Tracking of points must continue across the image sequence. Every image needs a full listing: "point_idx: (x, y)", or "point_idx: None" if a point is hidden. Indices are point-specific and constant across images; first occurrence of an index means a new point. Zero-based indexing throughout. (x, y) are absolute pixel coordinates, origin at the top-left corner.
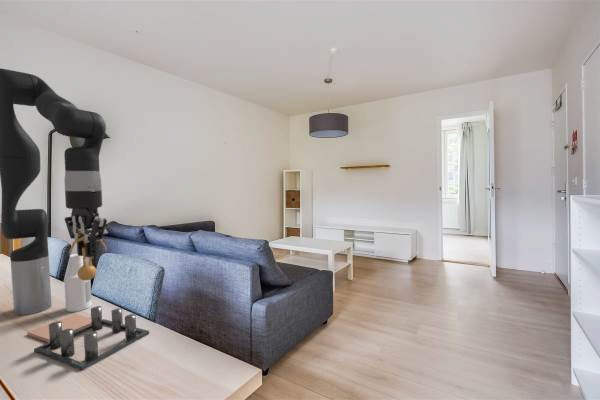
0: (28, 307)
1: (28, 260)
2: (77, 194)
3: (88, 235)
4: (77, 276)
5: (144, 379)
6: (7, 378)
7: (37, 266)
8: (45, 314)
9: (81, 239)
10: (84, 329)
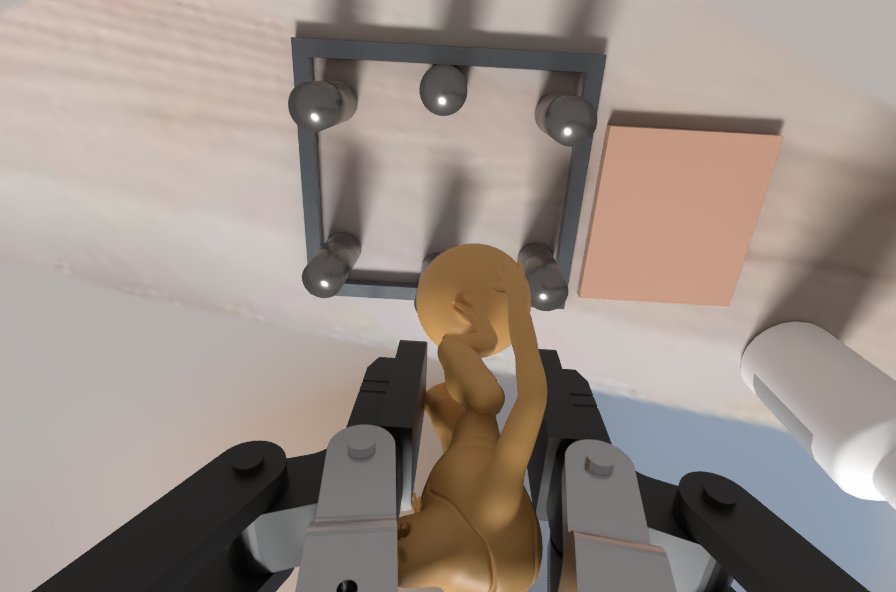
0: None
1: None
2: None
3: (321, 517)
4: (865, 440)
5: (61, 79)
6: None
7: None
8: (881, 276)
9: (489, 466)
10: (562, 230)
